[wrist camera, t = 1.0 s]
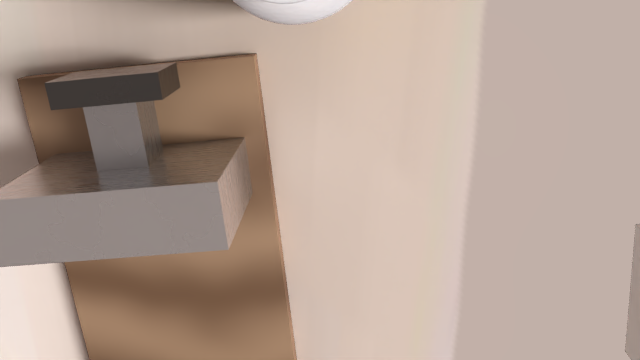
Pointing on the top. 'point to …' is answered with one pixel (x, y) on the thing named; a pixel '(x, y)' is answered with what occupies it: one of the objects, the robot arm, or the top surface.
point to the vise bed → (185, 268)
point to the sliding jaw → (124, 180)
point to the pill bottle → (292, 9)
